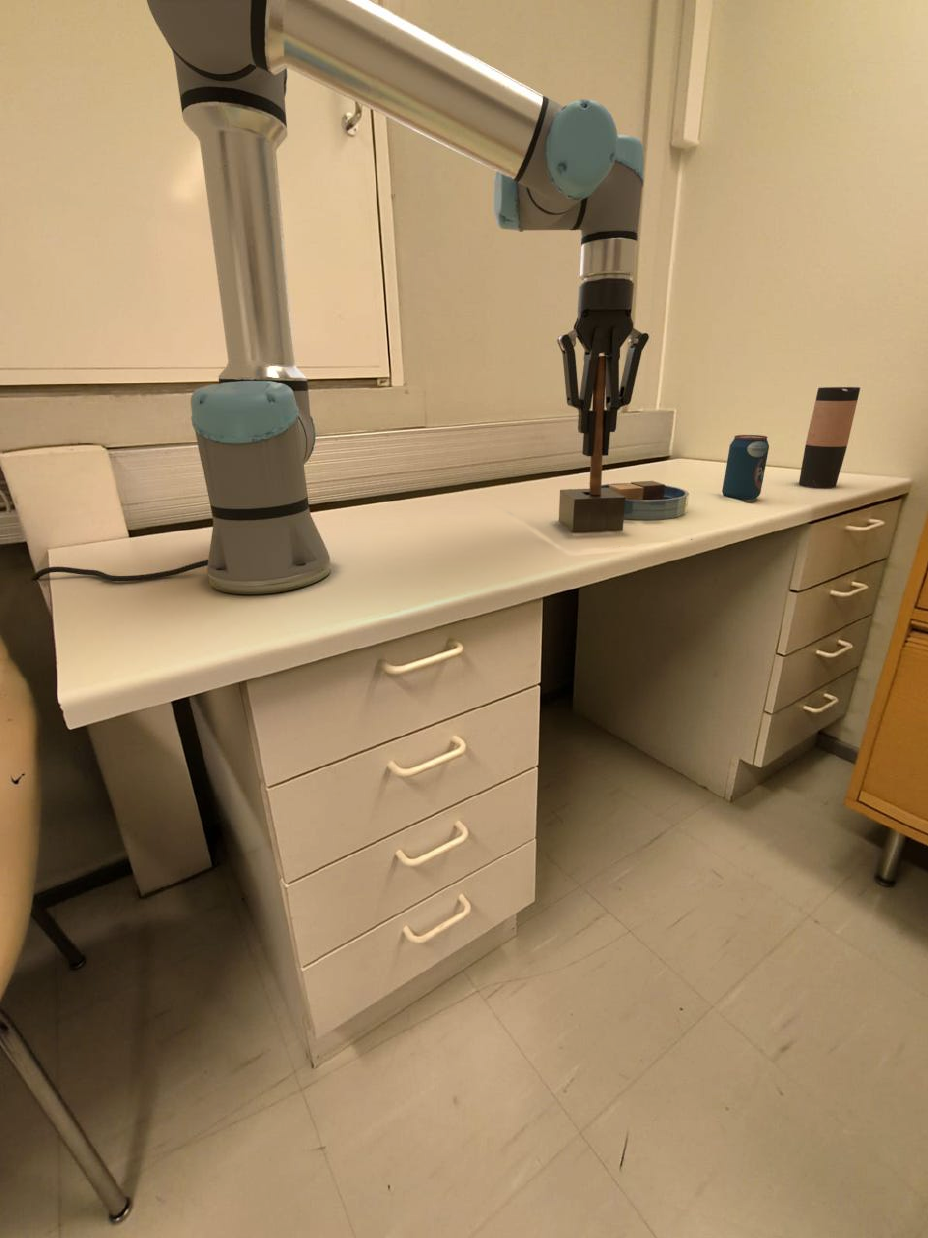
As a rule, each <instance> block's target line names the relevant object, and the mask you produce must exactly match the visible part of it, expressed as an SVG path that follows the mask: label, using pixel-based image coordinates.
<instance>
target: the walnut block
mask: <svg viewBox="0 0 928 1238" xmlns="http://www.w3.org/2000/svg"><path fill="white" fill-rule="evenodd" d="M630 483H631V484H634V485H637V486H640V487H643V488H644V489H643V498H642V500H648V501H650V500H663V499H664V491H665V485H666V484H664V483H661V482H658V481H654V480H644V481H643V480H642V481H631V482H630Z"/></svg>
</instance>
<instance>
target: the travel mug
mask: <svg viewBox="0 0 928 1238" xmlns="http://www.w3.org/2000/svg"><path fill="white" fill-rule="evenodd" d="M860 391H861V387H860V386H830V387H829V386H825V387H822V386H821V387H818V388H817V392H816V396H815V400H814V405H813V409H812V414H811V418H810V423H809V428H808V432H807V437H806V440H805V446H804V452H803V457H802V463H801V468H800V475H799V480H798V485H799V486H801V487H805V488H813V489H833V488H836V487H837V484H838V480H839V477H840V473H841V470H842V466H843V463H844V459H845V455H846V451H847V448H848V445H849V440H850V436H851V431H852V427H853V422H854V419H855V415H856V409H857V404H858V400H859V396H860V393H861V392H860Z"/></svg>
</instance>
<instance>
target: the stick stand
mask: <svg viewBox="0 0 928 1238" xmlns="http://www.w3.org/2000/svg"><path fill="white" fill-rule="evenodd" d="M589 491H590V488H569V489H560V490H559V503H558V522H559V523H560V524H561V525H563V526H564V527H565V528H566V529H567V530H569V531H570V532H571V533H572V534H581V533H599V532H602V533H603V532H618V531H619V532H620V531H621V532H622V531H623V530H624V522H625V519H624V512H625V501H626V497H624V496H622V495H620V494H618V493H616V492H615V491H613V490H611V489H609V488H601V495H589Z"/></svg>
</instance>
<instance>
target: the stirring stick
mask: <svg viewBox="0 0 928 1238" xmlns="http://www.w3.org/2000/svg"><path fill="white" fill-rule="evenodd" d="M606 360H607V356H604V355H599V359H598V361H597V367H596V374H595V381H594V388H593V395H592V403H591V409H592V410H591V411H595V425H594V441H593V456H590V462H589V463H590V464H589V489H590V491H589V495H601V485H602V484H603V483H602V482H603V481H602V479H603V477H602V476H603V457H604V456H603V434H604V410H606V409H605V408H606V387H605V385H606Z"/></svg>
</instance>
